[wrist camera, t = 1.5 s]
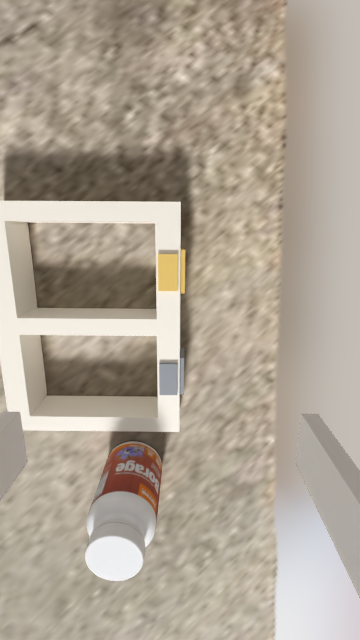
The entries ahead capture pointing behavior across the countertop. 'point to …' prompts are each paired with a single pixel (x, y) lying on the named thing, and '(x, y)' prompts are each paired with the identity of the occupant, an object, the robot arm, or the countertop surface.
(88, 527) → the pill bottle
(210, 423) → the countertop surface
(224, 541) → the countertop surface
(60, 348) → the countertop surface
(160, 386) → the white divided tray
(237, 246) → the countertop surface
